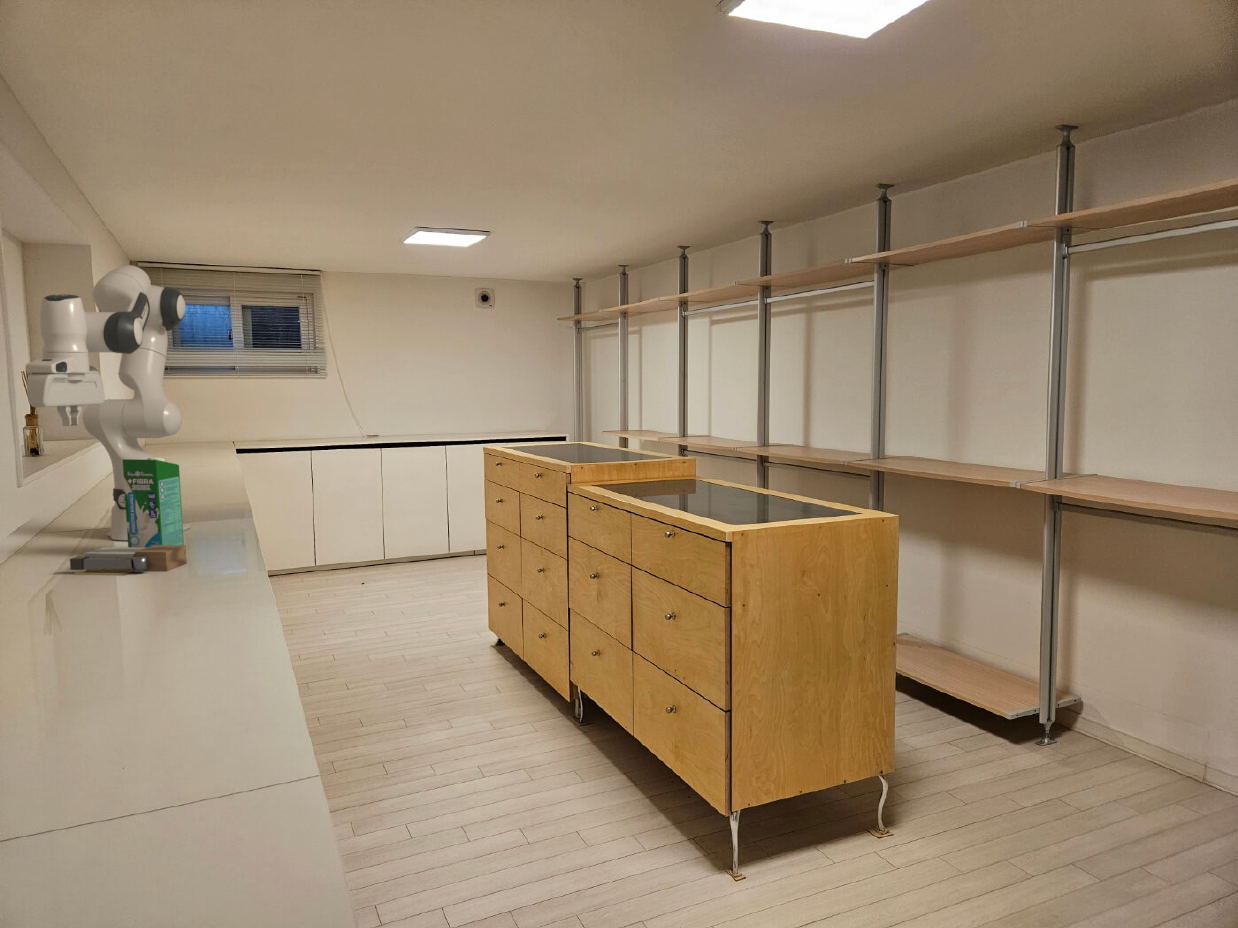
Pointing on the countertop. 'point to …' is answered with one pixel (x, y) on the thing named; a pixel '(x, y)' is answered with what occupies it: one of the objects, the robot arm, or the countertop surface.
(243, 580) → the countertop surface
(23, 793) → the countertop surface
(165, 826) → the countertop surface
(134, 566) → the swing bar
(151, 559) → the door edge
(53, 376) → the robot arm
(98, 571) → the strike pad
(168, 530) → the milk carton
